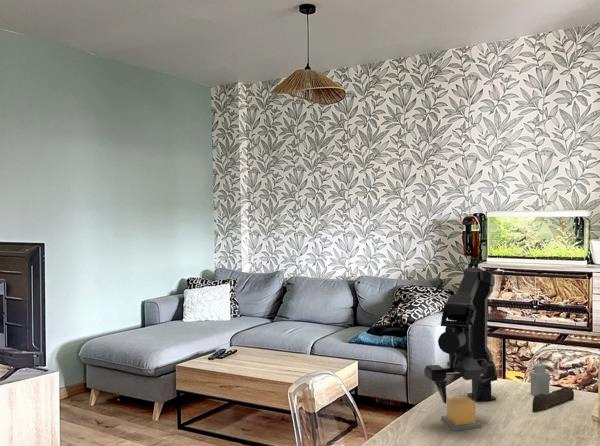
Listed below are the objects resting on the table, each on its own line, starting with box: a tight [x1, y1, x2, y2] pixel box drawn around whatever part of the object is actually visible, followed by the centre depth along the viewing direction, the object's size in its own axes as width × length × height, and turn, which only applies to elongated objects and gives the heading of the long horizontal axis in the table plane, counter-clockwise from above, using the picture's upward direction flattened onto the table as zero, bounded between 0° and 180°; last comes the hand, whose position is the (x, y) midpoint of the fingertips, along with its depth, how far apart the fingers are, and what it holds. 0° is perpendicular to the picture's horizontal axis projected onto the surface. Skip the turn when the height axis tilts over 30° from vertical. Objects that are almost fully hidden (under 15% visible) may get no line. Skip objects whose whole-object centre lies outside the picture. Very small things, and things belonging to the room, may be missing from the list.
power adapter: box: [530, 356, 550, 397], centre depth 176 cm, size 3×5×12 cm, turn 111°
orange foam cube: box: [446, 395, 476, 425], centre depth 154 cm, size 6×6×6 cm
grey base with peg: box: [440, 415, 482, 431], centre depth 154 cm, size 8×8×5 cm
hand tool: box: [532, 386, 575, 413], centre depth 167 cm, size 19×4×5 cm, turn 122°
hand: (460, 401), depth 154 cm, fingers open, 9 cm apart
